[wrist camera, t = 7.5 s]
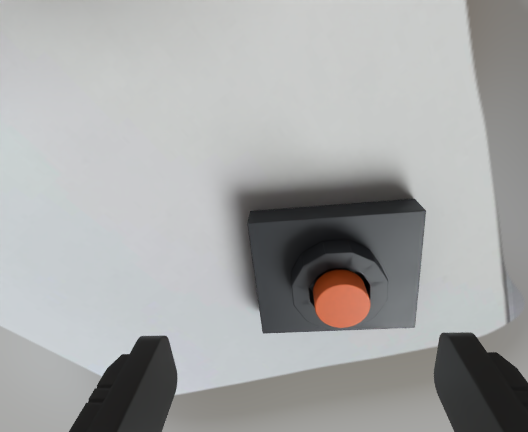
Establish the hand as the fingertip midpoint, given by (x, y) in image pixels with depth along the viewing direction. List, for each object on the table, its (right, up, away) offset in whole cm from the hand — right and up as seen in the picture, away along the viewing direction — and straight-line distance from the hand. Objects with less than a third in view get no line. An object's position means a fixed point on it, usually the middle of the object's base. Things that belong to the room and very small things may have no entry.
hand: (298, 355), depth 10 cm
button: (+4, -1, +13) cm, 14 cm away
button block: (+4, 0, +17) cm, 17 cm away
